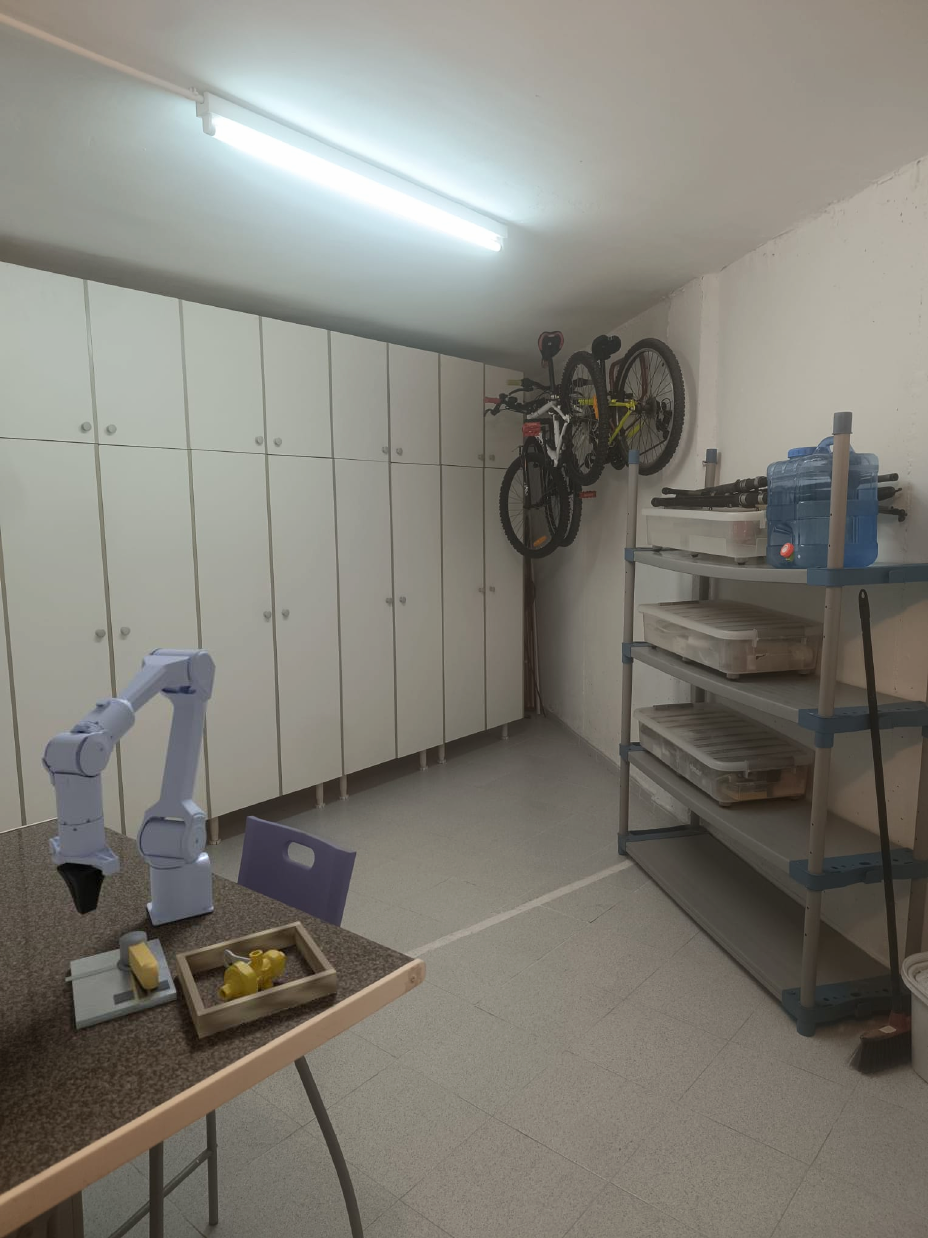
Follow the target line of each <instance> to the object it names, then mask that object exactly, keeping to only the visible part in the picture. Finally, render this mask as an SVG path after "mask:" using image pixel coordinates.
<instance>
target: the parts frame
mask: <svg viewBox="0 0 928 1238" xmlns="http://www.w3.org/2000/svg"><path fill="white" fill-rule="evenodd" d="M291 946H296V947H297V949H298V950H299V952H300V953H301V955H302V956H303V958H304V959H305V960H306V962H307V964H308V965H309V967H310V968H311V970H312V971H313V973H314V974H312V975H309V976H305V977H303V978H298V979H296V980H293V981H290V982H286V983H283V984H280V985H277V986H273V988H270V989H267V990H264V991H261V990H260V991H258V993H254V994H251V995H248V996H245V997H242V998H239V999H235V1000H232V999H231V1000H229V1001H225V1002H223V1003H221V1004H217V1005H213V1006H210V1007H208V1008H205V1005H204V1003H203V1000H202V998H201V995H200V992H199V990H198V988H197V985H196V982H195V980H194V977H193V975H195V974H200V973H202V972H205V971H209V970H212V969H215V968H220V967H223V966H224V964H223V961H222V953H223V952H224V951H225V950H229V951H231V952H232V953H233V954H234V955H235V956H239V957H244V958H249V959H250V956H249V954H250V953H251V952H253V951H256V950H261V951H262V953H263V954H264V953H266V952H267V951H269V950H277V951H279V950H280V949H281V950H282V949H284V948H288V947H291ZM175 957H176V958H175V959H176V976H177V978H178V982H179V984H180V986H181V987H180V988H181V991H182V993H183V996H184V998H185V1002H186V1004H187V1007H188V1011H189V1014H190V1017H191V1018H192V1022H193V1025H194V1028H195V1030H196V1034H197V1036H199V1037H198V1039H199V1040H200V1039H203V1038H205V1037H204V1036H206V1037H209V1036H212V1035H215V1034H217V1033H216V1032H218V1033H221V1032H223V1031H222V1030H224V1029H227V1030H229V1029H228V1028H229V1027H233V1026H236V1025H238V1024H242V1023H244V1022H247V1021H251V1020H252V1019H256V1018H260V1017H263V1016H266V1015H269V1014H271V1013H274V1012H277V1011H279V1010H282V1009H284V1008H288V1007H292V1006H295V1005H299V1006H301V1005H300V1004H302V1003H304V1002H307V1001H311V1000H313V999H315V998H320V997H321V996H325V995H328V994H331V993H334V992H337V993H338V989H337V988H338V987H337V986H338V985H337V979H338V978H337V971H336V970H335V968H334V967H333V965H332V964H331V963H330V961H329V960H328V959H327V957H326V956H325V954H324V953H323V952H322V950H321V949H320V948H319V946H318V945H317V944H316V942H315V940H314V939H313V938H312V936H311V935H310V933H308V931H307V930H306V928H305V926H304V925H303V924H302V923H301V921H295V922H292V923H291V922H290V923H288V924H284V925H279V926H277V927H276V926H275V927H273V928H272V927H271V928H270V929H266V930H262V931H258V932H255V933H251V934H247V935H244V936H240V937H235V938H233V939H230V940H226V941H223V942H222V941H221V942H218V943H214V944H211V945H208V946H204V947H203V946H202V947H201V948H197V949H192V950H189V951H186V952H185V951H184V952H182V953H178V954H176V955H175ZM225 959H226V962H227V964H228V965H230V964H232V959H231V957H230V956H229V955H228V954H226V956H225ZM320 999H321V998H320ZM311 1002H312V1001H311ZM302 1005H303V1004H302ZM269 1016H270V1015H269ZM266 1017H267V1016H266ZM263 1018H264V1017H263ZM260 1019H261V1018H260ZM251 1022H252V1021H251ZM242 1025H243V1024H242ZM236 1027H237V1026H236ZM233 1028H234V1027H233ZM220 1031H221V1032H220ZM224 1031H225V1030H224ZM214 1033H215V1034H214Z"/></svg>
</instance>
